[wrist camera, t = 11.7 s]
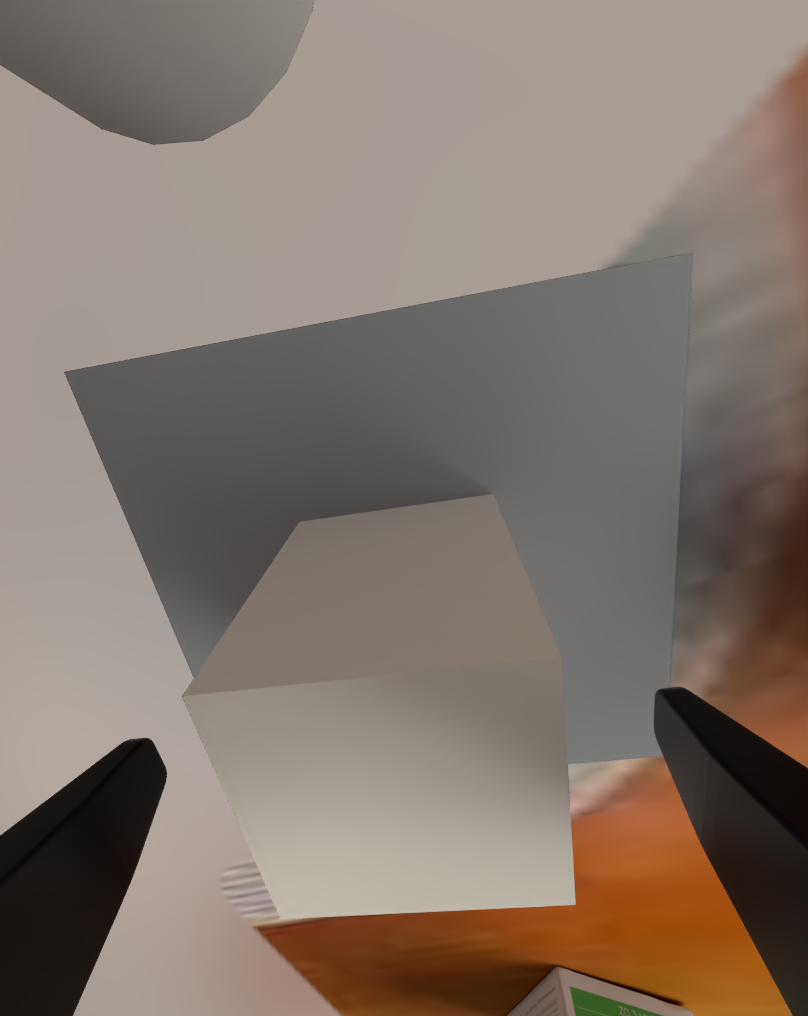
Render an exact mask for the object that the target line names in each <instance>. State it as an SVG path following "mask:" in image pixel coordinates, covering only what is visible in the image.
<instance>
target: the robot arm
mask: <svg viewBox="0 0 808 1016" xmlns="http://www.w3.org/2000/svg"><path fill="white" fill-rule="evenodd" d="M654 733H655V737H656V740H657V742H658V745H659V747H660V749H661V752H662V754H663V757H664V759H665V761H666V764H667V766H668V768H669V771H670V773H671V775H672V778H673V780H674V783H675V785H676V787H677V790H678V792H679V794H680V797H681V799H682V801H683V804H684V806H685V808H686V811H687V813H688V816H689V818H690V820H691V823H692V825H693V827H694V829H695V832H696V834H697V836H698V838H699V841H700V843H701V845H702V847H703V849H704V851H705V853H706V855H707V857H708V859H709V861H710V862H711V864H712V866H713V868H714V870H715V872H716V874H717V876H718V877H719V879H720V881H721V883H722V885H723V887H724V889H725V890H726V892H727V894H728V896H729V898H730V900H731V902H732V903H733V905H734V907H735V909H736V911H737V913H738V915H739V916H740V918H741V920H742V922H743V924H744V926H745V928H746V929H747V931H748V933H749V935H750V937H751V939H752V941H753V943H754V944H755V946H756V948H757V950H758V952H759V954H760V956H761V957H762V959H763V961H764V963H765V965H766V967H767V969H768V970H769V972H770V974H771V976H772V978H773V980H774V982H775V983H776V985H777V987H778V989H779V991H780V993H781V995H782V996H783V998H784V1000H785V1002H786V1004H787V1006H788V1008H789V1009H790V1011H791V1013H792V1015H793V1016H808V768H806V767H805V766H803V765H802V764H800V763H799V762H797V761H796V760H794V759H793V758H791V757H790V756H788V755H787V754H785V753H784V752H782V751H781V750H779V749H777V748H776V747H774V746H773V745H771V744H770V743H768V742H767V741H765V740H764V739H762V738H761V737H759V736H758V735H756V734H755V733H753V732H751V731H750V730H748V729H747V728H745V727H744V726H742V725H741V724H739V723H738V722H736V721H735V720H733V719H732V718H730V717H729V716H727V715H725V714H724V713H722V712H721V711H719V710H718V709H716V708H715V707H713V706H712V705H710V704H709V703H707V702H706V701H704V700H703V699H701V698H700V697H698V696H696V695H695V694H693V693H692V692H690V691H689V690H687V689H685V688H682V687H673V688H663V689H658V690H657V691H656V693H655V699H654ZM166 778H167V771H166V767H165V765H164V763H163V761H162V759H161V757H160V755H159V753H158V751H157V749H156V747H155V745H154V743H153V741H152V740H150V739H149V738H139V739H130V740H127V741H125V742H123V743H121V744H120V745H119V746H118V747H116V748H115V749H114V750H112V751H111V752H110V753H108V754H107V755H106V756H104V757H103V758H102V759H100V760H99V761H98V762H96V763H95V764H94V765H92V766H91V767H90V768H89V769H87V770H86V771H85V772H83V773H82V774H81V775H79V776H78V777H77V778H75V779H74V780H73V781H71V782H70V783H69V784H67V785H66V786H65V787H63V788H62V789H61V790H60V791H58V792H57V793H56V794H54V795H53V796H52V797H51V798H49V799H48V800H46V801H45V802H44V803H42V804H41V805H40V806H38V807H37V808H36V809H35V810H33V811H32V812H31V813H29V814H28V815H27V816H25V817H24V818H23V819H21V820H20V821H19V822H17V823H16V824H15V825H13V826H12V827H11V828H10V829H8V830H7V831H6V832H4V833H3V834H2V835H0V1016H73V1014H74V1012H75V1009H76V1007H77V1005H78V1003H79V1000H80V998H81V996H82V993H83V991H84V989H85V987H86V984H87V982H88V980H89V977H90V975H91V973H92V971H93V968H94V966H95V963H96V961H97V959H98V957H99V954H100V952H101V950H102V948H103V945H104V943H105V941H106V938H107V936H108V934H109V932H110V929H111V927H112V925H113V922H114V920H115V918H116V915H117V913H118V911H119V908H120V906H121V904H122V902H123V899H124V897H125V895H126V892H127V890H128V888H129V885H130V883H131V880H132V878H133V875H134V872H135V870H136V867H137V864H138V862H139V859H140V856H141V853H142V850H143V847H144V844H145V841H146V838H147V836H148V833H149V830H150V827H151V824H152V821H153V818H154V815H155V812H156V809H157V807H158V804H159V800H160V798H161V795H162V792H163V789H164V786H165V783H166Z"/></svg>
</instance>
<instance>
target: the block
mask: <svg viewBox="0 0 808 1016" xmlns="http://www.w3.org/2000/svg"><path fill="white" fill-rule="evenodd" d="M182 698H183V700H184V702H185V705H186V707H187V709H188V712H189V714H190V716H191V718H192V721H193V723H194V725H195V727H196V730H197V732H198V734H199V736H200V739H201V741H202V743H203V745H204V748H205V750H206V752H207V754H208V757H209V759H210V761H211V763H212V766H213V768H214V770H215V772H216V775H217V777H218V779H219V781H220V784H221V786H222V788H223V790H224V793H225V795H226V797H227V799H228V802H229V804H230V806H231V808H232V811H233V813H234V815H235V817H236V820H237V822H238V824H239V826H240V828H241V831H242V833H243V835H244V837H245V840H246V842H247V844H248V847H249V849H250V851H251V853H252V856H253V858H254V860H255V862H256V865H257V867H258V869H259V871H260V874H261V876H262V878H263V880H264V883H265V885H266V887H267V889H268V892H269V894H270V896H271V898H272V901H273V903H274V905H275V907H276V910H277V912H278V914H279V916H280V919H291V918H312V917H333V916H354V915H374V914H395V913H416V912H437V911H458V910H478V909H499V908H520V907H541V906H561V905H575V887H574V869H573V851H572V833H571V815H570V797H569V779H568V762H567V744H566V726H565V708H564V690H563V672H562V656H561V654H560V652H559V649H558V647H557V645H556V642H555V640H554V637H553V635H552V633H551V630H550V628H549V626H548V623H547V621H546V618H545V616H544V614H543V611H542V609H541V607H540V604H539V602H538V599H537V597H536V595H535V592H534V590H533V587H532V585H531V583H530V580H529V578H528V576H527V573H526V571H525V568H524V566H523V564H522V561H521V559H520V557H519V554H518V552H517V549H516V547H515V545H514V542H513V540H512V538H511V535H510V533H509V530H508V528H507V526H506V523H505V521H504V518H503V516H502V514H501V511H500V509H499V507H498V504H497V502H496V499H495V497H494V495H493V494H489V495H482V496H475V497H468V498H461V499H454V500H447V501H440V502H433V503H426V504H419V505H412V506H405V507H398V508H391V509H384V510H378V511H371V512H364V513H357V514H350V515H343V516H336V517H329V518H322V519H315V520H308V521H301V522H299V523H298V525H297V526H296V528H295V529H294V531H293V532H292V534H291V535H290V536H289V538H288V539H287V541H286V542H285V544H284V545H283V547H282V548H281V550H280V551H279V553H278V554H277V556H276V557H275V559H274V560H273V562H272V563H271V565H270V566H269V568H268V569H267V571H266V572H265V574H264V575H263V577H262V578H261V580H260V581H259V583H258V584H257V586H256V587H255V588H254V590H253V591H252V593H251V594H250V596H249V597H248V599H247V600H246V602H245V603H244V605H243V606H242V608H241V609H240V611H239V612H238V614H237V615H236V617H235V618H234V620H233V621H232V623H231V624H230V626H229V627H228V629H227V630H226V632H225V633H224V635H223V636H222V638H221V639H220V640H219V642H218V643H217V645H216V646H215V648H214V649H213V651H212V652H211V654H210V655H209V657H208V658H207V660H206V661H205V663H204V664H203V666H202V667H201V669H200V670H199V672H198V673H197V675H196V676H195V678H194V679H193V681H192V682H191V684H190V685H189V687H188V688H187V690H186V691H185V692H184V694H183V695H182Z"/></svg>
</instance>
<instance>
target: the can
mask: <svg viewBox="0 0 808 1016" xmlns="http://www.w3.org/2000/svg"><path fill="white" fill-rule="evenodd" d="M313 4H314V0H0V65H1V66H3V67H4V68H6V69H8V70H9V71H11V72H12V73H14V74H15V75H17V76H19V77H20V78H22V79H24V80H25V81H27V82H28V83H30V84H31V85H33V86H34V87H36V88H38V89H39V90H41V91H42V92H44V93H46V94H47V95H49V96H50V97H52V98H53V99H55V100H57V101H58V102H60V103H61V104H63V105H65V106H66V107H68V108H69V109H71V110H73V111H74V112H76V113H77V114H79V115H80V116H82V117H84V118H85V119H87V120H88V121H90V122H91V123H93V124H95V125H96V126H98V127H100V128H101V129H104V130H107V131H110V132H113V133H117V134H120V135H123V136H127V137H130V138H134V139H137V140H140V141H143V142H146V143H150V144H167V143H178V142H191V141H203V140H205V139H207V138H209V137H211V136H213V135H214V134H216V133H218V132H220V131H222V130H224V129H226V128H228V127H230V126H231V125H233V124H235V123H237V122H239V121H241V120H243V119H245V118H246V117H248V116H249V115H250V114H251V113H252V112H253V111H254V110H255V108H256V107H257V106H258V105H259V104H260V103H261V101H262V100H263V99H264V98H265V97H266V96H267V94H268V93H269V92H270V91H271V90H272V88H273V87H274V86H275V85H276V84H277V83H278V82H279V80H280V79H281V78H282V77H283V76H284V75H285V73H286V72H287V70H288V67H289V65H290V63H291V60H292V58H293V56H294V53H295V51H296V48H297V46H298V44H299V41H300V39H301V37H302V34H303V32H304V29H305V27H306V25H307V22H308V20H309V17H310V15H311V13H312V10H313Z"/></svg>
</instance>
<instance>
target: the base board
mask: <svg viewBox="0 0 808 1016" xmlns="http://www.w3.org/2000/svg"><path fill="white" fill-rule="evenodd" d="M691 271H692V253H687V254H682V255H677V256H672V257H666V258H661V259H656V260H651V261H645V262H640V263H635V264H629V265H624V266H619V267H614V268H608V269H603V270H598V271H593V272H587V273H583V274H577V275H572V276H566V277H561V278H556V279H551V280H545V281H540V282H535V283H529V284H524V285H519V286H514V287H509V288H503V289H498V290H493V291H487V292H483V293H477V294H472V295H467V296H461V297H456V298H451V299H446V300H441V301H435V302H429V303H424V304H419V305H414V306H408V307H403V308H398V309H393V310H387V311H382V312H377V313H372V314H366V315H361V316H356V317H351V318H345V319H340V320H336V321H329V322H325V323H320V324H314V325H309V326H303V327H298V328H293V329H287V330H282V331H277V332H272V333H266V334H261V335H256V336H251V337H245V338H241V339H235V340H229V341H224V342H219V343H214V344H209V345H203V346H198V347H193V348H187V349H182V350H177V351H172V352H167V353H161V354H156V355H151V356H145V357H140V358H135V359H130V360H124V361H119V362H114V363H108V364H103V365H98V366H93V367H87V368H82V369H77V370H72V371H66V372H64V373H65V375H66V377H67V380H68V382H69V385H70V387H71V389H72V392H73V394H74V396H75V399H76V401H77V403H78V406H79V408H80V411H81V413H82V415H83V417H84V420H85V422H86V425H87V427H88V429H89V432H90V434H91V436H92V439H93V441H94V443H95V446H96V448H97V451H98V453H99V455H100V458H101V460H102V462H103V465H104V467H105V470H106V472H107V474H108V477H109V479H110V481H111V484H112V486H113V488H114V491H115V493H116V495H117V498H118V500H119V503H120V505H121V507H122V510H123V512H124V514H125V517H126V519H127V521H128V524H129V526H130V529H131V531H132V533H133V535H134V538H135V540H136V542H137V545H138V547H139V550H140V552H141V554H142V557H143V559H144V562H145V564H146V566H147V569H148V571H149V573H150V576H151V578H152V580H153V583H154V585H155V588H156V590H157V592H158V595H159V597H160V599H161V601H162V604H163V606H164V609H165V611H166V613H167V616H168V618H169V621H170V623H171V625H172V628H173V630H174V632H175V634H176V637H177V639H178V642H179V644H180V646H181V649H182V651H183V654H184V656H185V658H186V661H187V663H188V665H189V668H190V670H191V672H192V675H193V677H194V678H195V676H196V675H197V673H198V672H199V670H200V669H201V667H202V666H203V664H204V663H205V661H206V660H207V658H208V657H209V655H210V654H211V652H212V651H213V649H214V648H215V646H216V645H217V643H218V642H219V640H220V639H221V638H222V636H223V635H224V633H225V632H226V630H227V629H228V627H229V626H230V624H231V623H232V621H233V620H234V618H235V617H236V615H237V614H238V612H239V611H240V609H241V608H242V606H243V605H244V603H245V602H246V600H247V599H248V597H249V596H250V594H251V593H252V591H253V590H254V588H255V587H256V586H257V584H258V583H259V581H260V580H261V578H262V577H263V575H264V574H265V572H266V571H267V569H268V568H269V566H270V565H271V563H272V562H273V560H274V559H275V557H276V556H277V554H278V553H279V551H280V550H281V548H282V547H283V545H284V544H285V542H286V541H287V539H288V538H289V536H290V535H291V534H292V532H293V531H294V529H295V528H296V526H297V525H298V523H299V522H301V521H308V520H315V519H322V518H329V517H336V516H343V515H350V514H357V513H364V512H371V511H378V510H384V509H391V508H398V507H405V506H412V505H419V504H426V503H433V502H440V501H447V500H454V499H461V498H468V497H475V496H482V495H489V494H493V495H494V497H495V499H496V502H497V504H498V507H499V509H500V511H501V514H502V516H503V518H504V521H505V523H506V526H507V528H508V530H509V533H510V535H511V538H512V540H513V542H514V545H515V547H516V549H517V552H518V554H519V557H520V559H521V561H522V564H523V566H524V568H525V571H526V573H527V576H528V578H529V580H530V583H531V585H532V587H533V590H534V592H535V595H536V597H537V599H538V602H539V604H540V607H541V609H542V611H543V614H544V616H545V618H546V621H547V623H548V626H549V628H550V630H551V633H552V635H553V637H554V640H555V642H556V645H557V647H558V649H559V652H560V654H561V656H562V672H563V690H564V708H565V726H566V744H567V762H568V764H573V763H585V762H598V761H610V760H623V759H636V758H648V757H661V756H663V754H662V752H661V749H660V747H659V745H658V742H657V740H656V737H655V733H654V699H655V693H656V691H657V690H658V689H663V688H670V675H671V656H672V637H673V617H674V598H675V579H676V560H677V541H678V521H679V502H680V483H681V464H682V444H683V425H684V406H685V387H686V367H687V348H688V329H689V310H690V290H691Z"/></svg>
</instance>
